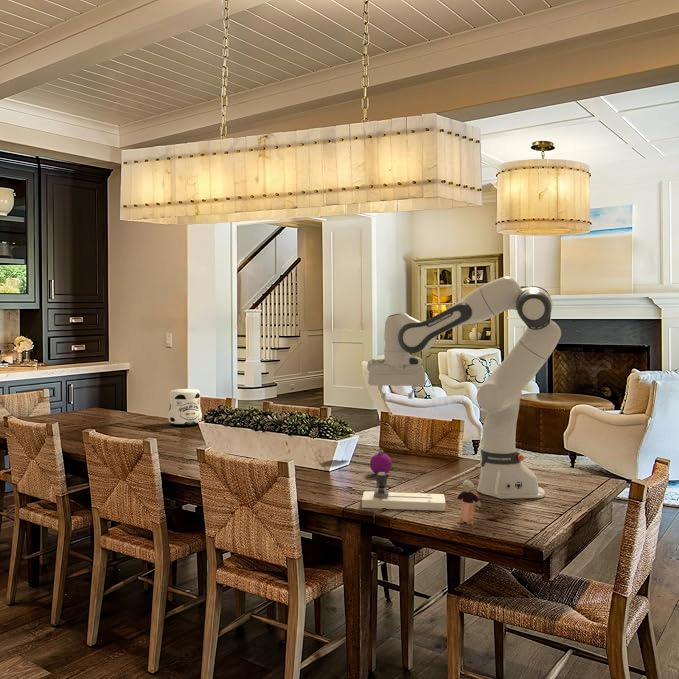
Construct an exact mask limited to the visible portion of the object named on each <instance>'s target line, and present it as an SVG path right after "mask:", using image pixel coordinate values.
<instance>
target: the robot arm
mask: <svg viewBox="0 0 679 679" xmlns="http://www.w3.org/2000/svg"><path fill="white" fill-rule="evenodd" d="M552 308H553V301H552V297H551V295H550V293H549V292H548V290H546V289H545V288H543V287H540V286H533V285H531V286H525V285H521V286H520V285H519V283H518V282H517V281H516V280H515V279H514V278H513V277H510V276H502V277H499V278H496V279H493V280H491V281H489V282H487V283H485V284H483V285H481V286H480V285H479V286H478V287H477V288H475V289H474V290H472V291H470V292H469V293H468V294H466V295H465V296H464V297H462V298H461V299H459V300H458V301H457V302H456V303H455V304H453V305H452V306H450V307H449V308H447V309H445V310H443V311H441V312H440V313H438V314H436V315H434V316H432V317H430V318H428V319H426V320H423V321H420V320H417V319H416V318H414V317H412V316H410V315H409V314H408V313H407V312H406V313H405V312H401V313H394V314H391V315H388V316H387V317H386V318H385V323H384V336H383V338H384V343H385V346H384V350H383V351H384V356H383V358H382V359H381V358H379V359H378V358H377V359H375V358H372V359H371V360H369V361H368V362H367V366H366V368H367V371H368V381H367V383H368V385H369V386H372V387H373V386H378V388H377V389H378V391H379V392H380V394H381V395H380V396H381V399H386V398H387V396H386V393H387V392H384V391H383V386H388V387H390V386H392V387H393V386H394V387H396V386H397V387H399V386H401V387H405V386H406V387H409V386H410V387H411V392H408V393H407V395H408V396H407V397H408V399H410V400H411V399H413V394H414V393H415V391H416V387H424V386H425V385H426V383H427V381H426V371H425V368H424V366H423V365H422V363H423V360H422V358H421V357H419V356H415V355H413V354H416V353H420V352H422V351H427V350H428V349H430V348H432V347H433V346H435V344H436V342H437V337H438V336H440V335H442V334H444V333H446V332H447V331H450V330H451V329H454V328H457V327H460V326H465V325H472V324H477V323H481V322H485V321H487V320H490V319H492V318H495V317H496V316H498V315H500V314H502V313H503V312H506V311H509V310H513V311H514V310H515V311H517V314H518V316H519V318H520V319H521V320H522V322H523V323H524V324H525V325H526V330H525V331H524V333H523V334H522V336H521V337H520V339H519V340H518V341H517V342H516V344H515V345H514V346H513V348H512V349H511V350H510V352H509V353H508V354H507V356H506V357H505V358H504V359H503V361H502V362H501V363H500V364H499V365H497V367H496V368H495V369H494V371H493V372H491V374H490V375H489V376H488V378H487V379H486V380H485V381H484V382H483V383H482V385H481V386H480V387H479V388H478V390H477V393H476V401H477V404H478V406H479V407H480V408H481V409H482V410H484V411H485V412H486V414H485V418H484V422H483V424H482V425H483V426H482V442H481V444H482V446H481V447H482V448H481V450H480V457H479V458H480V466H481V467H480V474H479V479H478V484H477V487H476V492H479V493H480V494H482V495H487V496H491V497H493V498H497V499H502V500H504V499H542V498H544V497H545V496H546V492H545V490H544V489H543V488H542V487H540V486H539V483H538V478H537V476H536V474H535V473H534V472H533V471H532V470H531V469H530V468H528V467H527V466H526V465H525V464H524V463H522V462H523V461H524V460H525V456H524V455H523V454H522V453H520V452H519V451H517V450H516V439H517V438H516V435H517V434H516V432H517V423H518V422H517V421H518V418H519V417H518V416H519V411H520V402H521V397H522V390H523V389H524V388H525V387H527V385H528V384H529V383H530V382H531V381H532V380H533V378H535V376H536V375H537V373H538V372H539V371H540V370H541V368H543V365H545V363H546V362H547V361H548V359H549V358H550V356H551V355H552V353H553V351H554V350H555V348H557V345H558V343H559V341H560V339H561V337H562V330H561V328H560V326H559V325H558V324H557V323H556V321H553V320H552V318H551V316H552V315H551V314H552Z"/></svg>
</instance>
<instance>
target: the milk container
mask: <svg viewBox="0 0 679 679" xmlns="http://www.w3.org/2000/svg"><path fill="white" fill-rule="evenodd" d="M202 418H203V414H202V409H201V391H200V390H199V389H196V388H178V389H171V390H170V391H169V410H168V413H167V419H168V423H169V424H171V425H173V426H180V427H186V426H196V425H198V424H199V423H198V422H199V421H202Z"/></svg>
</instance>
